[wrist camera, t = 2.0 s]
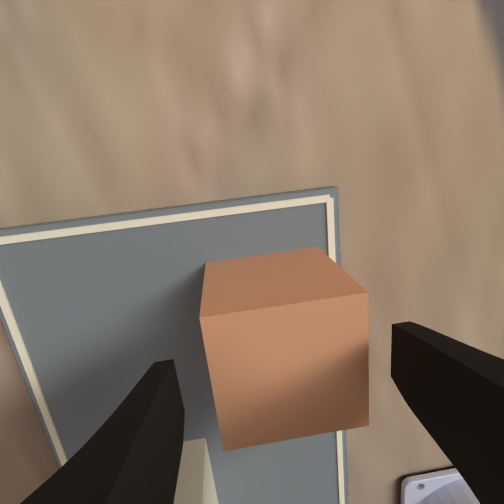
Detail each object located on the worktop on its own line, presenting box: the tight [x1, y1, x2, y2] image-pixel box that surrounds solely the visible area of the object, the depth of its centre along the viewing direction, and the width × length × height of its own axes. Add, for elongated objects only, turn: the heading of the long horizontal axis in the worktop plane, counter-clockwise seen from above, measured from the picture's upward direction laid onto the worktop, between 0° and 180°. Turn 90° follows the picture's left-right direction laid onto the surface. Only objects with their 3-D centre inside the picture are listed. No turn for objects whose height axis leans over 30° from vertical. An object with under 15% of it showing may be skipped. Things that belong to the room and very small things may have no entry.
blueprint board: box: [0, 186, 348, 504], centre depth 14 cm, size 15×20×5 cm
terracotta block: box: [199, 247, 369, 451], centre depth 12 cm, size 5×5×5 cm
